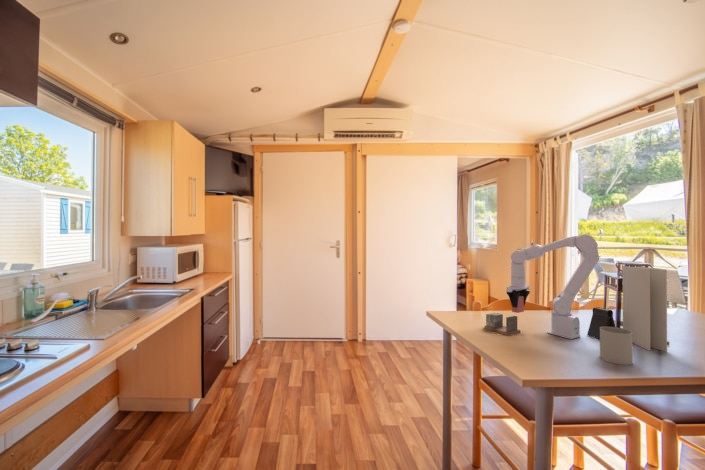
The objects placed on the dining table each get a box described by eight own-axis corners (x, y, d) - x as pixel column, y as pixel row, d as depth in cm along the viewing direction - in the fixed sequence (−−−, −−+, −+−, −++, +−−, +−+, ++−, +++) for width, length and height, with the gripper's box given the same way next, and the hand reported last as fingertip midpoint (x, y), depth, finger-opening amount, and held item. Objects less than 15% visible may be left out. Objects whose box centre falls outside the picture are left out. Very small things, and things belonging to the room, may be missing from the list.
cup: (599, 352, 107) (599, 325, 108) (630, 358, 102) (630, 329, 102) (600, 360, 101) (599, 330, 101) (633, 366, 96) (633, 335, 96)
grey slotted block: (520, 333, 129) (520, 316, 129) (509, 335, 125) (509, 318, 126) (495, 325, 140) (495, 310, 140) (484, 328, 136) (484, 312, 136)
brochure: (667, 351, 109) (666, 269, 109) (649, 350, 110) (649, 269, 110) (638, 339, 122) (638, 266, 123) (622, 338, 124) (622, 266, 124)
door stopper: (601, 340, 121) (601, 310, 121) (587, 335, 127) (587, 307, 127) (618, 338, 123) (618, 309, 123) (603, 333, 129) (603, 306, 129)
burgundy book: (523, 311, 137) (523, 296, 137) (517, 312, 134) (517, 297, 134) (518, 310, 139) (518, 295, 139) (512, 311, 136) (512, 296, 137)
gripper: (519, 275, 144) (519, 303, 144) (500, 276, 137) (500, 306, 136) (533, 276, 138) (534, 306, 137) (515, 278, 130) (515, 309, 130)
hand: (518, 306), depth 137 cm, fingers closed on burgundy book, 5 cm apart
